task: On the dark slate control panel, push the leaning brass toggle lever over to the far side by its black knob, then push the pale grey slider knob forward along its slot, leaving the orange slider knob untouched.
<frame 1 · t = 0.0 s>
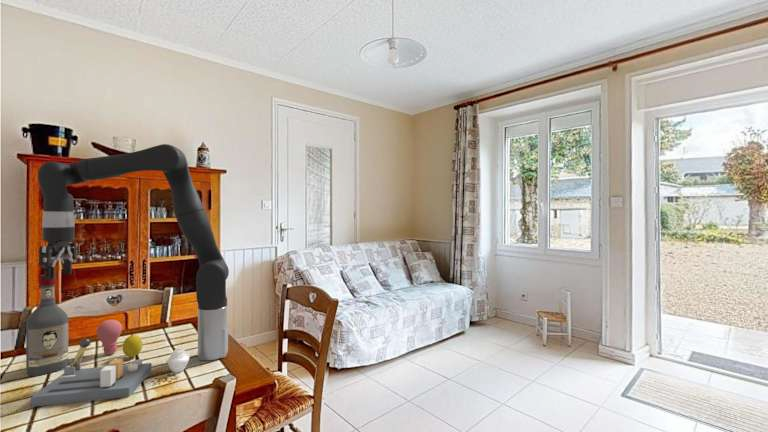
hand: (58, 276, 112), 29 cm above the table, fingers open, 8 cm apart
grey slider: (108, 376, 97), point 5 cm above the table, slide at 0.0 cm
liquor: (47, 369, 112), on the table
lemon: (132, 358, 121), on the table
white egg shape: (178, 371, 112), on the table
panel: (97, 386, 101), on the table
orange slider: (116, 368, 101), point 5 cm above the table, slide at 0.0 cm
brass lever: (80, 353, 105), point 8 cm above the table, hinge at -20.0°
light bulb: (109, 354, 124), on the table
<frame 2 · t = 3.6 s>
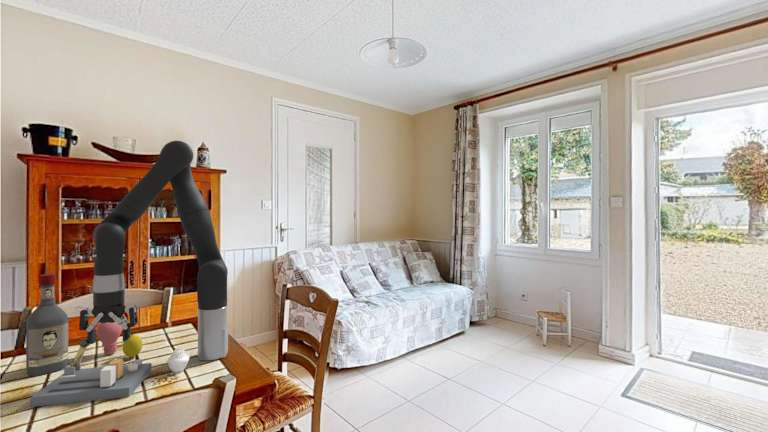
hand: (109, 341, 107), 11 cm above the table, fingers open, 8 cm apart
brass lever: (80, 353, 105), point 8 cm above the table, hinge at -19.9°, touching gripper
everything else where it was.
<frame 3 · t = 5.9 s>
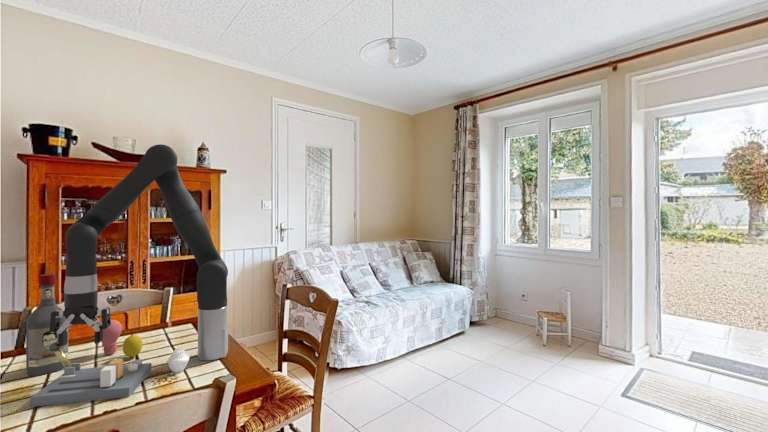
hand: (80, 344, 105), 11 cm above the table, fingers open, 8 cm apart
brass lever: (61, 356, 104), point 8 cm above the table, hinge at 29.0°
everything else where it was.
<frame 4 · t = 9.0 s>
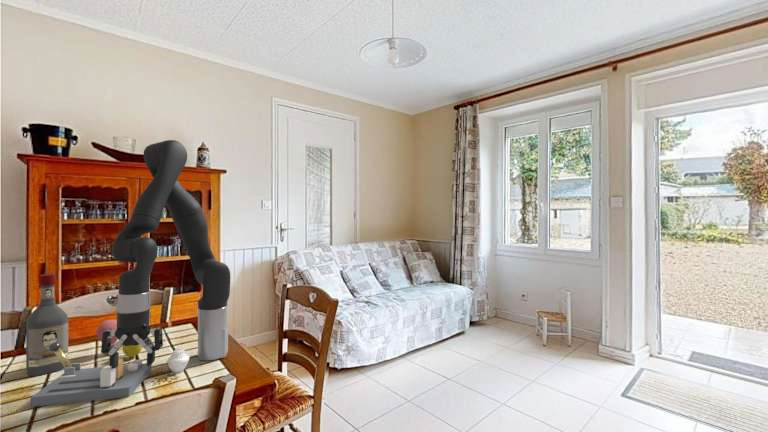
hand: (132, 366, 99), 7 cm above the table, fingers open, 8 cm apart
grey slider: (108, 376, 97), point 5 cm above the table, slide at 0.0 cm, touching gripper
everything else where it was.
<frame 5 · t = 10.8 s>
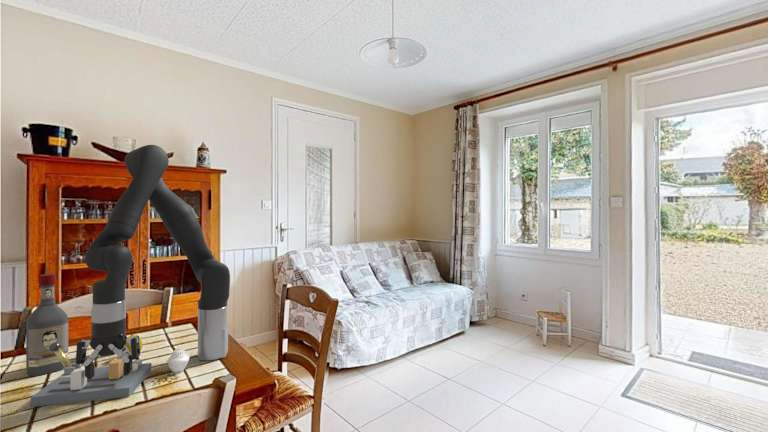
hand: (108, 376, 97), 5 cm above the table, fingers open, 8 cm apart
grey slider: (78, 378, 95), point 5 cm above the table, slide at 6.8 cm, touching gripper
everything else where it was.
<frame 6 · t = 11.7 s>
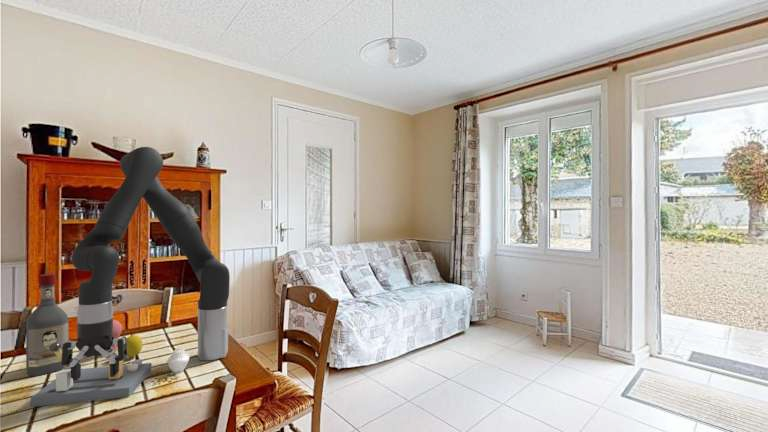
hand: (95, 377, 96), 5 cm above the table, fingers open, 8 cm apart
grey slider: (64, 380, 95), point 5 cm above the table, slide at 10.0 cm, touching gripper
everything else where it was.
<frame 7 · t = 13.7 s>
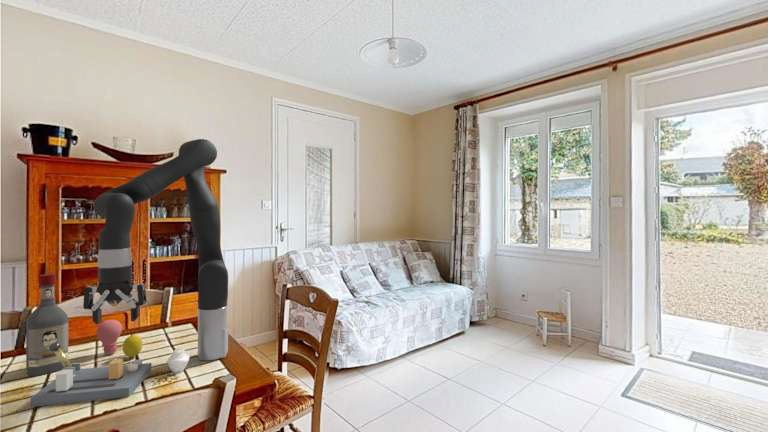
hand: (116, 321, 99), 19 cm above the table, fingers open, 8 cm apart
grey slider: (64, 380, 95), point 5 cm above the table, slide at 10.0 cm
everything else where it was.
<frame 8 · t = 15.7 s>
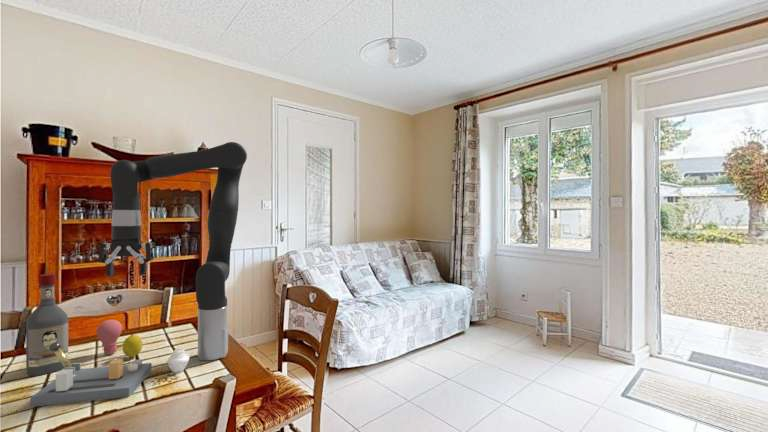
hand: (126, 275, 112), 30 cm above the table, fingers open, 8 cm apart
nothing on the table moved.
at the end: brass lever at +29° (first picture: -20°); grey slider slide at 10.0 cm; orange slider slide at 0.0 cm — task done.
